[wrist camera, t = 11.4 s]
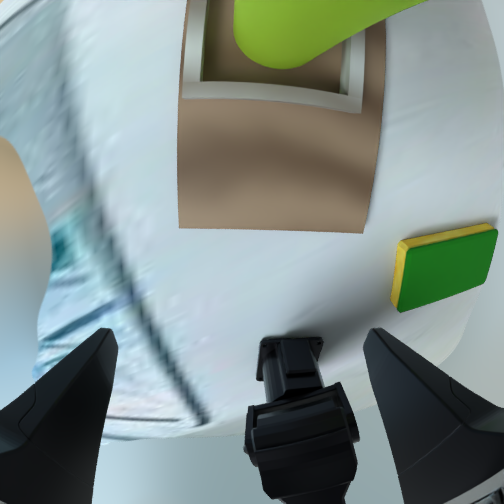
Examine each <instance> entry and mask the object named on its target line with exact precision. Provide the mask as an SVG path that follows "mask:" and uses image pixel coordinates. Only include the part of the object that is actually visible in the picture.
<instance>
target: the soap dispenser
mask: <svg viewBox="0 0 504 504" xmlns="http://www.w3.org/2000/svg"><path fill="white" fill-rule="evenodd" d="M425 1H427V0H235V2H234V24H233V33H234V38H235V41H236V43H237V45H238V47H239V48H240V50H241V51H242V52H243V53H244V54H245V55H246V56H247V57H248V58H250V59H251V60H253V61H254V62H256V63H258V64H260V65H263V66H265V67H269V68H274V69H291V68H296V67H299V66H302V65H304V64H306V63H307V62H309V61H311V60H312V59H314V58H315V57H317V56H318V55H320V54H322V53H323V52H325V51H327V50H328V49H330V48H332V47H333V46H335V45H337V44H338V43H340V42H342V41H343V40H345V39H347V38H349V37H351V36H352V35H354V34H356V33H358V32H360V31H362V30H363V29H365V28H367V27H369V26H371V25H373V24H375V23H377V22H379V21H381V20H383V19H385V18H387V17H390V16H392V15H394V14H396V13H398V12H401V11H403V10H405V9H407V8H410V7H412V6H415V5H417V4H420V3H422V2H425Z"/></svg>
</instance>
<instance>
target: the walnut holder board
mask: <svg viewBox="0 0 504 504" xmlns="http://www.w3.org/2000/svg"><path fill="white" fill-rule="evenodd" d="M234 2H235V0H187V5H186V13H185V21H184V30H183V40H182V51H181V64H180V79H179V98H178V129H177V184H178V217H179V228H200V229H253V230H288V231H316V232H341V233H362V234H363V231H364V227H365V222H366V217H367V212H368V207H369V202H370V197H371V191H372V186H373V180H374V174H375V167H376V161H377V154H378V146H379V139H380V130H381V121H382V110H383V98H384V82H385V56H386V28H385V19H383V20H381V21H379V22H377V23H375V24H373V25H371V26H369V27H367V28H365V29H363V30H362V31H360V32H358V33H356V34H354V35H352V36H351V37H349V38H347V39H345V40H343V41H342V42H340V43H338V44H337V45H335V46H333V47H332V48H330V49H328V50H327V51H325V52H323V53H322V54H320V55H318V56H317V57H315V58H314V59H312V60H311V61H309V62H307V63H306V64H304V65H302V66H299V67H296V68H291V69H274V68H269V67H265V66H263V65H260V64H258V63H256V62H254V61H253V60H251V59H250V58H248V57H247V56H246V55H245V54H244V53H243V52H242V51H241V50H240V48H239V47H238V45H237V43H236V41H235V38H234V33H233V24H234Z"/></svg>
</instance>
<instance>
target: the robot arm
mask: <svg viewBox="0 0 504 504" xmlns="http://www.w3.org/2000/svg"><path fill="white" fill-rule="evenodd" d="M323 343H324V341H323V339H322V338H321V337H314V338H296V339H269V340H262V341H261V342H260V345H259V354H258V362H257V371H256V380H257V381H264V386H265V393H266V401H267V403H265V404H261V405H256V406H254V405H252V406H248V413H247V417H246V430H245V444H244V452H245V453H246V454H248V455H249V457H250V460H251V462H252V464H253V465H254V466H255V467H258V468H259V472H260V476H261V480H262V486H263V490H264V492H265V493H266V494H267V495H268V496H269V497H270V498H271V499H279V500H280V501H281V502H283V503H284V504H346V503H345V499H344V497H345V495H346V492H347V490H348V487H349V485H350V483H351V481H353V480H354V477H355V474H356V470H357V464H358V463H357V458H356V454H355V449H354V446H353V443H356V442H359V441H360V437H359V431H358V427H357V423H356V420H355V416H354V413H353V411H352V408H351V406H350V403H349V401H348V399H347V396H346V394H345V392H344V390H343V387H342V385H341V383H340V382H337V383H334V385H331V386H328V387H325V386H324V383H323V379H322V376H321V373H320V370H319V367H318V363H317V361H318V358H319V355H320V352H321V349H322V346H323ZM264 344H266V345H264ZM363 351H364V355H365V359H366V364H367V368H368V372H369V377H370V381H371V385H372V389H373V392H374V395H375V398H376V401H377V404H378V407H379V410H380V413H381V417H382V419H383V423H384V426H385V430H386V433H387V437H388V440H389V444H390V447H391V451H392V455H393V458H394V462H395V466H396V470H397V474H398V475H399V476H398V478H399V482H400V487H401V490H402V495H403V500H404V504H504V408H501V407H498V406H496V405H494V404H492V403H491V402H489V401H487V400H485V399H484V398H482V397H481V396H479V395H477V394H475V393H474V392H472V391H471V390H469V389H467V388H466V387H464V386H463V385H461V384H460V383H459V382H457V381H456V380H454V379H453V378H452V377H449V376H448V375H447V374H446V373H445V372H443V371H442V370H440V369H439V368H438V367H436V366H435V365H433V364H432V363H431V362H429V361H428V360H426V359H425V358H424V357H422V356H421V355H419V354H418V353H417V352H415V351H414V350H412V349H411V348H410V347H408V346H407V345H405V344H404V343H402V342H401V341H400V340H398V339H397V338H395V337H394V336H393V335H391V334H390V333H388V332H387V331H385V330H384V329H383V328H372V329H370V331H369V333H368V335H367V338H366V340H365V342H364V345H363ZM117 355H118V345H117V342H116V339H115V336H114V333H113V331H112V329H110V328H100V329H98V330H97V331H96V332H95V333H93V334H92V335H91V336H90V337H89V338H87V339H86V340H85V341H84V342H82V343H81V344H80V345H79V346H78V347H76V348H75V349H74V350H73V351H72V352H70V353H69V354H68V355H67V356H66V357H64V358H63V359H62V360H61V361H60V362H59V363H57V364H56V365H55V366H54V367H53V368H51V369H50V370H49V371H48V372H47V373H46V374H44V375H43V376H42V377H41V378H40V379H39V380H38V381H36V382H35V384H33V385H32V386H31V387H29V388H28V389H27V390H26V391H25V392H24V393H22V394H21V395H20V396H19V397H18V398H16V399H15V400H14V401H12V402H11V403H10V404H9V405H7V406H6V407H4V408H3V409H2V410H0V504H92V496H93V486H94V479H95V472H96V465H97V459H98V454H99V448H100V443H101V437H102V432H103V428H104V423H105V418H106V414H107V409H108V405H109V401H110V397H111V393H112V388H113V382H114V375H115V368H116V361H117Z"/></svg>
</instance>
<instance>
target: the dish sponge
mask: <svg viewBox="0 0 504 504" xmlns="http://www.w3.org/2000/svg"><path fill="white" fill-rule="evenodd" d="M497 236H498V230H497V229H494V227H492V226H491V225H489V224H488V223H484V224H479V225H474V226H470V227H465V228H460V229H455V230H450V231H445V232H440V233H436V234H431V235H426V236H421V237H415V238H410V239H405V240H401V241H400V242H399V243H398V246H397V255H396V263H395V271H394V279H393V285H392V292H391V298H390V301H391V302H392V303H393V305H394V306H395V307H396V308H397V310H398V311H399V312H400V313H402V312H405V311H408V310H411V309H414V308H418V307H421V306H424V305H427V304H430V303H433V302H436V301H439V300H442V299H444V298H447V297H450V296H453V295H456V294H458V293H461V292H464V291H466V290H469V289H471V288H474V287H476V286H479V285H481V284H483V283H484V282H485V280H486V278H487V274H488V271H489V268H490V264H491V261H492V257H493V253H494V249H495V245H496V241H497Z"/></svg>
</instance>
